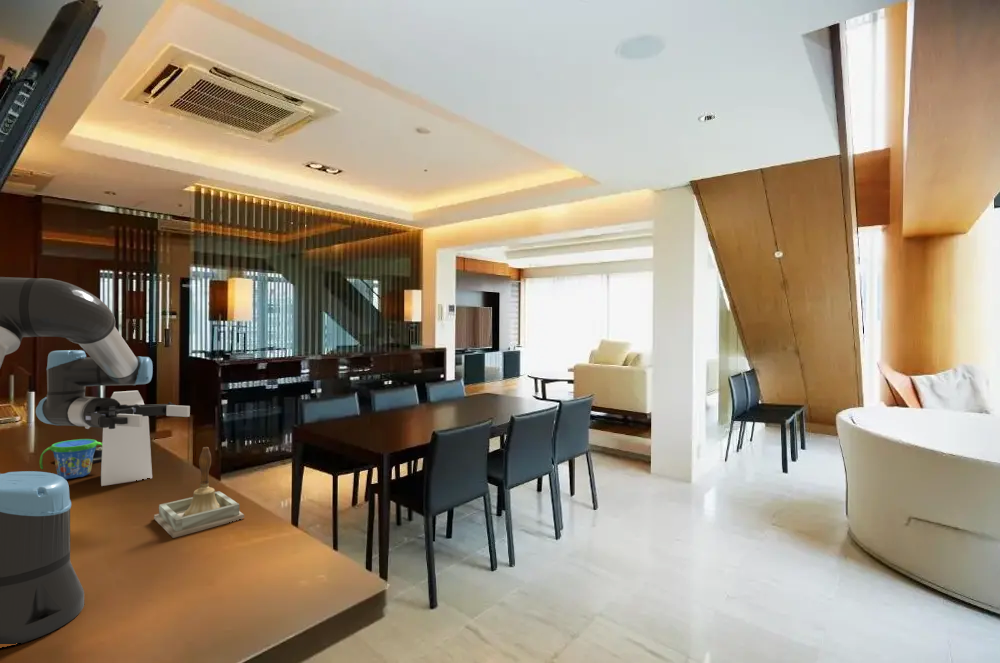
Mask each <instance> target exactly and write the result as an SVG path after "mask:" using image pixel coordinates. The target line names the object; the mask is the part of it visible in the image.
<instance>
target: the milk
mask: <svg viewBox="0 0 1000 663" xmlns="http://www.w3.org/2000/svg"><path fill="white" fill-rule="evenodd" d="M110 398H113V399H115V400H117V401H118V402H119V403H120V405H125V404H126V405H135V404H138V405H145V403H144V399H143V397H142V395H141V394H140V392H139V390H126V391H113V393H112V394H111V396H110ZM133 414H134V412H133ZM150 435H151V434H150V418H149V416H142V427H130V426H117V424H115V429H109V427H107V428H102V442H101V443H102V446H101V447H102V462H100V463H101V464H100V465H101V466H100V468H101V469H100V485H101V487H103V486H104V487H105V486H110V485H118V484H124V483H131V482H136V480H137V481H142V479H144V480H148V479H147V478H150V479H153V469H152V468H153V467H152V450H151V449H152V448H151V437H150Z"/></svg>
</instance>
